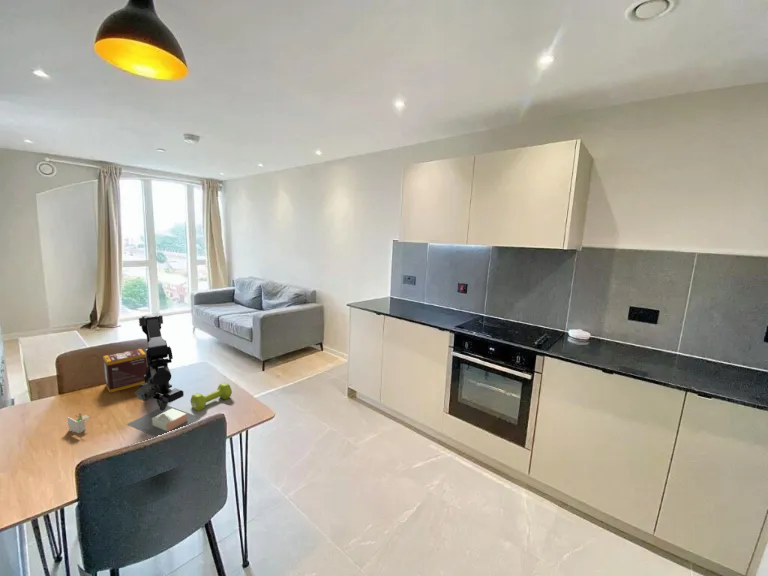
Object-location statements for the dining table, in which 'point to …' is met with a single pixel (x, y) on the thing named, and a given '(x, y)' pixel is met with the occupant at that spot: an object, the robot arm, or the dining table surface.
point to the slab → (169, 419)
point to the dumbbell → (210, 396)
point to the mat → (147, 427)
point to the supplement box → (124, 369)
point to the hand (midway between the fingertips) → (162, 410)
